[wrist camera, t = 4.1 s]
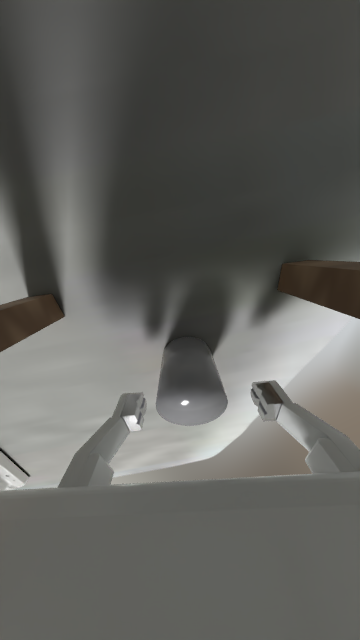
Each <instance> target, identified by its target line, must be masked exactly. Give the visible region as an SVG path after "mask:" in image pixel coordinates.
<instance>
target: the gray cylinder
mask: <svg viewBox="0 0 360 640" xmlns="http://www.w3.org/2000/svg"><path fill="white" fill-rule="evenodd" d="M227 403H228V400H227V396H226V393H225V390H224V388H223V385H222V382H221V379H220V376H219V373H218V370H217V368H216V365H215V362H214V359H213V356H212V353H211V351H210V348H209V346H208V345H207V344H206V343H205V342H204V341H202V340H200V339H198V338H195V337H181V338H178V339H175V340H173V341H172V342H170V343H169V344H168V345H167V346H166V348H165V349H164V352H163V357H162V364H161V371H160V378H159V385H158V392H157V400H156V409H157V411H158V413H159V415H160V416H161V417H162V418H164V419H165V420H167V421H169V422H171V423H174V424H178V425H185V426H194V425H201V424H205V423H208V422H211V421H213V420H215V419H216V418H218V417H219V416H220V415H221V414H222V413H223V412H224V411H225V409H226V407H227Z"/></svg>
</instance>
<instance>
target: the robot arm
mask: <svg viewBox="0 0 360 640" xmlns="http://www.w3.org/2000/svg"><path fill="white" fill-rule="evenodd" d="M252 387H253V388H252V389H251V397H252V400H253V402H254V404H255V405H256V406H258V412H259V414H260V416H261V418H262V420H263V421H277V422H278V423H279V424H280V425H281V426H282V427H283V428H284V429H285V430H286V431H288V432H289V433H290V434H291V435H292V436H293V437H294V438H295V439H296V440H297V441H298V442H299V443H301V444H302V445H303V446H304V447H305V448H306V449H307V450H308V451H309V454H308V455H307V457H306V459H305V461H306V463H307V465H308V467H309V468H310V470H311V472H312V473H313V474H301V475H282V476H264V477H246V478H227V479H208V480H192V481H172V482H153V483H136V484H116V485H110V484H111V481H112V477H113V474H114V471H113V469H112V468H111V467H110V466H109V462H110V461H111V460H112V458H113V457H114V455H115V454H116V452H117V451H118V449H119V448H120V446H121V445H122V443H123V442H124V440H125V439H126V437H127V436H128V434H129V433H130V431H138V430H142V427H143V422H144V418H143V415H144V414H145V412H146V399H145V398H143V397H144V394H143V392H141V393H126V394H122V395H121V397H120V399H119V401H118V404H117V406H116V409H115V411H114V414H113V416H112V418H109V419H108V420H107V421H106V422H105V423H104V424H103V425H102V426H101V427H100V429H99V430H98V431H97V432H96V433H95V434H94V435H93V436H92V437H91V438H90V439H89V440H88V441H87V442H86V443H85V444H84V445H83V446H82V447H81V448H80V449H79V450H78V451H77V452H76V453H75V455H74V457H73V459H72V461H71V463H70V465H69V467H68V468H67V470H66V472H65V474H64V476H63V478H62V480H61V482H60V484H59V486H58V488H43V489H25V490H11V489H16V488H19V487H21V486H23V485H25V483H26V482H27V481H28V479H29V477H28V476H27V475H26V474H25V473H24V472H23V471H21V470H20V469H19V468H18V467H17V466H16V465H15V464H14V463H13V462H12V461H11V460H9V459H8V458H7V457H6V456H5V455H4V454H3V453H2V452H1V451H0V640H360V450H359V448H358V447H357V446H356V445H355V444H354V443H353V442H352V441H351V440H350V439H349V438H348V437H347V436H346V435H345V434H343V433H342V432H340V431H338V430H337V429H335V428H334V427H332V426H330V425H329V424H327V423H326V422H324V421H323V420H321V419H319V418H318V417H317V416H315V415H314V414H312V413H310V412H309V411H307V410H306V409H304V408H302V407H301V406H300V405H298V404H296V403H293V402H292V401H291V400H290V398H289V397H288V396H287V394H286V393H285V392H284V390H283V389H282V388H281V387H280V385H279V384H278V383H277V382H276V381H275V380H273V381H261V382H253V383H252Z"/></svg>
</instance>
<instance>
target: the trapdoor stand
mask: <svg viewBox="0 0 360 640" xmlns="http://www.w3.org/2000/svg"><path fill="white" fill-rule="evenodd" d="M277 290H278V291H281V292H284V293H287V294H290V295H293V296H296V297H298V298H301V299H304V300H307V301H310V302H313V303H315V304H318V305H321V306H324V307H327V308H330V309H333V310H335V311H338V312H341V313H344V314H347V315H350V316H352V317H355V318H358V319H360V262H345V261H320V260H307V261H299V262H291V263H284V264H282V269H281V274H280V279H279V284H278V289H277ZM63 317H64V315H63V313H62V311H61V309H60V308H59V306H58V304H57V302H56V300H55V299H54V297H53V295H52V294H48V295H41V296H33V297H27V298H23V299H20V300H16V301H13V302H9V303H6V304H2V305H0V352H1V351H3V350H5V349H7V348H9V347H11V346H12V345H14V344H16V343H18V342H20V341H21V340H23V339H25V338H27V337H29V336H30V335H32V334H34V333H36V332H38V331H40V330H41V329H43V328H45V327H47V326H49V325H50V324H52V323H54V322H56V321H58V320H59V319H61V318H63Z"/></svg>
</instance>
